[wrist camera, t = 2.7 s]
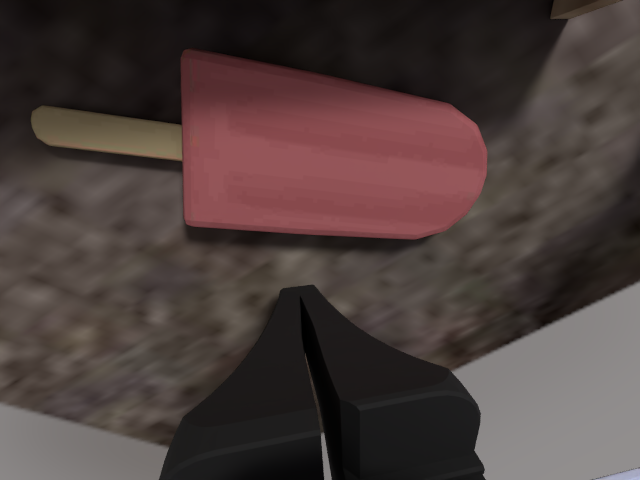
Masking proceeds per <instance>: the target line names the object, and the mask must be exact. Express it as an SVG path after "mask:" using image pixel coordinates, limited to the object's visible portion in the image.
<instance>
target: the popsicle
mask: <svg viewBox="0 0 640 480" xmlns="http://www.w3.org/2000/svg"><path fill="white" fill-rule="evenodd" d="M180 59H181V112H182V125H179V124H172V123H165V122H158V121H151V120H144V119H137V118H130V117H123V116H116V115H109V114H102V113H95V112H88V111H81V110H74V109H67V108H60V107H53V106H44V105H42V106H40V107H38V108H37V109H35V110H33V111H32V116H31V124H32V129H33V131H34V132H35V134H36V136H37V138H38V139H40V140H41V141H43V142H44V143H46V144H47V145H49V146H57V147H65V148H73V149H82V150H90V151H99V152H107V153H116V154H124V155H132V156H141V157H149V158H158V159H166V160H175V161H182V164H183V216H184V219H185V221H186V224H187V225H190V226H193V227H205V228H219V229H233V230H248V231H262V232H276V233H290V234H305V235H326V236H348V237H369V238H391V239H412V240H414V239H419V238H422V237H426V236H429V235H433V234H436V233H440V232H443V231H446V230H447V229H448V228H450V227H451V226H452V225H453V224H455V223H456V222H457V221H458V220H460V219H461V218H462V217H463V216H465V215H466V214H467V213H468V211H469V210H470V208H471V207H472V205H473V204H474V202H475V201H476V199H477V198H478V196H479V195H480V193H481V190H482V187H483V184H484V181H485V178H486V175H487V149H486V146H485V144H484V141H483V139H482V136H481V133H480V131H479V128H478V126H477V124H476V123H474V122H473V121H472V120H470V119H469V118H468V117H466V116H465V115H464V114H463V113H461V112H460V111H459V110H457V109H456V108H455V107H453V106H452V105H451V104H449V103H446V102H441V101H437V100H433V99H428V98H424V97H420V96H415V95H411V94H407V93H402V92H398V91H394V90H389V89H385V88H381V87H376V86H372V85H368V84H363V83H359V82H355V81H350V80H346V79H342V78H337V77H333V76H329V75H324V74H320V73H315V72H310V71H305V70H300V69H295V68H290V67H285V66H280V65H275V64H270V63H265V62H260V61H255V60H250V59H245V58H240V57H235V56H230V55H225V54H220V53H215V52H210V51H205V50H200V49H195V48H190V49H186V50H184V51H183V53H182V56H181V58H180Z"/></svg>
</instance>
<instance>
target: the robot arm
mask: <svg viewBox="0 0 640 480" xmlns="http://www.w3.org/2000/svg"><path fill="white" fill-rule="evenodd" d="M305 353H306V357H307V361H308V365H309V369H310V372H311V376H312V380H313V384H314V387H315V391H316V395H317V399H318V402H319V407H320V412H321V417H322V423H323V429H324V434H325V440H326V446H327V453H328V458H329V464H330V470H331V477H332V480H486V479H485V478H484V476H483V475H482V474H484V470H485V469H484V466H483V464H482V462H481V461H480V460H479V458H478V456H477V454H476V453H475V451H474V449H475V444H476V440H477V435H478V430H479V426H480V415H481V413H480V410H479V407H478V405H477V403H476V402H475V400H474V399H473V398H472V396H471V395H470V394H469V393H468V391H467V390H466V389H465V387H464V386H463V385H462V383H461V382H460V381H459V380H458V379H457V378H456V377H455V376H454V375H453V373H452V372H451V371H450V370H449V369H448V368H445V367H442V366H439V365H436V364H433V363H430V362H427V361H424V360H421V359H418V358H416V357H413V356H411V355H408V354H406V353H404V352H401V351H399V350H397V349H395V348H393V347H390V346H388V345H387V344H385V343H383V342H381V341H379V340H377V339H375V338H374V337H372V336H370V335H369V334H367V333H366V332H364V331H363V330H361V329H360V328H358V327H357V326H355V325H354V324H353V323H351V322H350V321H349V320H348V319H347V318H345V317H344V316H343V315H342V314H341V313H340V312H339V311H338V310H337V309H335V308H334V307H333V306H332V305H331V304H330V303H329V302H328V301H327V300H326V298H325V297H324V296H323V295H322V294H321V293H320V292H319V290H318V289H317V288H316V287H315V286H314V285H306V286H298V287H291V288H283V289H282V290H281V291H280V294H279V298H278V301H277V304H276V307H275V309H274V311H273V314H272V316H271V318H270V320H269V322H268V324H267V326H266V327H265V329H264V331H263V333H262V335H261V336H260V338H259V339H258V341H257V343H256V344H255V346H254V347H253V348H252V350H251V351H250V353H249V354H248V355H247V356H246V358H245V359H244V360H243V361H242V363H241V364H240V365H239V366H238V367H237V369H236V370H235V371H234V372H233V373H232V374H231V375H230V376H229V377H228V378H227V379H226V380H225V381H224V382H223V383H222V384H221V385H220V386H219V387H218V388H217V389H216V390H215V391H214V392H213V393H212V394H211V395H210V396H208V397H207V398H206V399H205V400H204V401H202V402H201V403H200V404H199V405H198V406H196V407H195V408H194V409H193V410H192V411H190V412H189V413H188V414H187V415H185V416H184V417H183V418H182V420H181V422H180V425H179V427H178V429H177V431H176V433H175V436H174V438H173V440H172V443H171V445H170V447H169V450H168V452H167V456H166V458H165V461H164V464H163V468H162V472H161V475H160V478H159V480H324V473H323V460H322V446H321V434H320V427H319V421H318V415H317V409H316V405H315V401H314V396H313V392H312V387H311V383H310V379H309V374H308V369H307V364H306V359H305ZM592 480H640V468H636V469H632V470H628V471H624V472H620V473H616V474H613V475H608V476H604V477H600V478H596V479H592Z"/></svg>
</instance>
